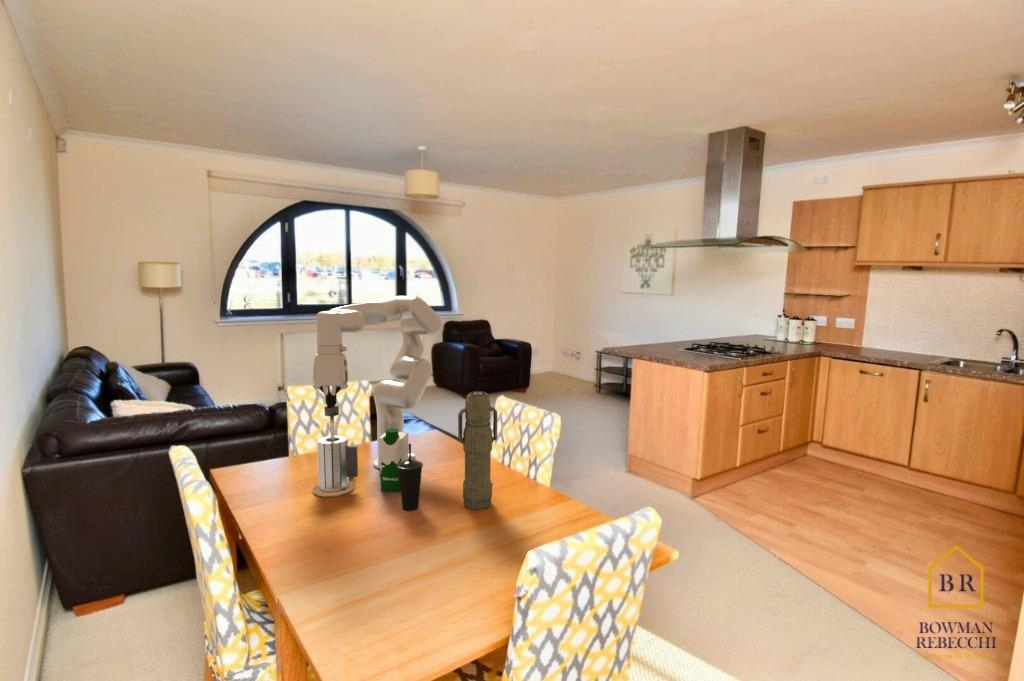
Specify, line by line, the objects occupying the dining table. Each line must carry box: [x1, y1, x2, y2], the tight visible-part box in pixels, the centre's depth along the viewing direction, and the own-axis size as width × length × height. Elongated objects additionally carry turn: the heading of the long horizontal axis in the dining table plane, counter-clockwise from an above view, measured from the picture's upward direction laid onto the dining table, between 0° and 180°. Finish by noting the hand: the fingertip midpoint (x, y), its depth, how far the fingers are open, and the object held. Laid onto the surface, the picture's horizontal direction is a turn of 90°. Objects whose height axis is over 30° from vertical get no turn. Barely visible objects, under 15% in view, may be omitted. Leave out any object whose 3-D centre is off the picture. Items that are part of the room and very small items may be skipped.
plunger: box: [323, 404, 340, 442], centre depth 172 cm, size 4×4×19 cm
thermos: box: [457, 390, 498, 511], centre depth 162 cm, size 9×12×35 cm
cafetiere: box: [312, 434, 359, 498], centre depth 173 cm, size 14×13×17 cm
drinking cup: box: [397, 443, 424, 512], centre depth 159 cm, size 8×8×20 cm
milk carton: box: [379, 429, 410, 493], centre depth 175 cm, size 9×9×20 cm
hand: (331, 406), depth 171 cm, fingers closed
